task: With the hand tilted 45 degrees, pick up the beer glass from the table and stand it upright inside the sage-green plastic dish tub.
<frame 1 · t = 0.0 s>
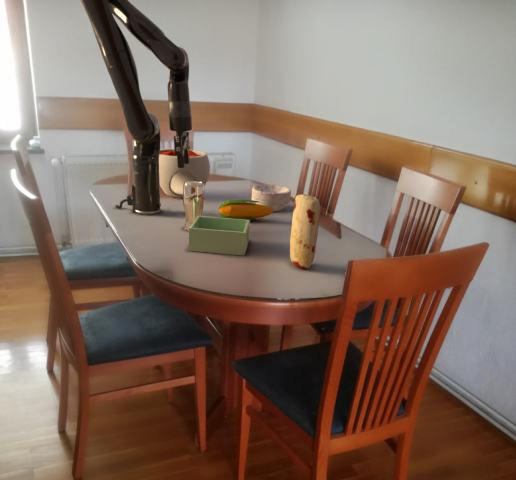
hand: (183, 165, 182), 17 cm above the table, tool pointing down, fingers open, 8 cm apart
tub: (219, 245, 161), on the table
beer glass: (193, 229, 175), on the table
corn: (245, 220, 189), on the table
paper bowls: (270, 209, 207), on the table
pot: (180, 196, 217), on the table
food model: (300, 266, 149), on the table
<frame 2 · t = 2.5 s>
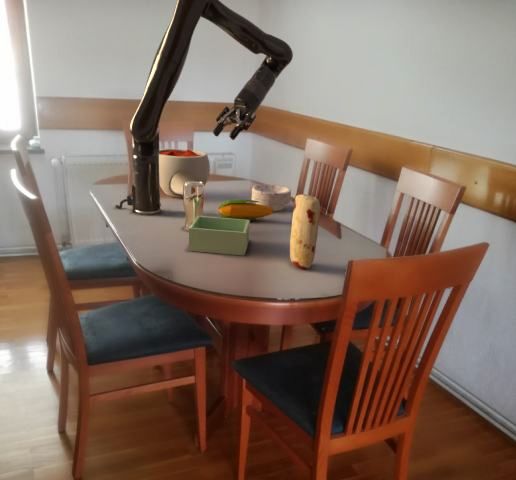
hand: (222, 136, 168), 29 cm above the table, tool tilted 45°, fingers open, 8 cm apart
nothing on the table moved.
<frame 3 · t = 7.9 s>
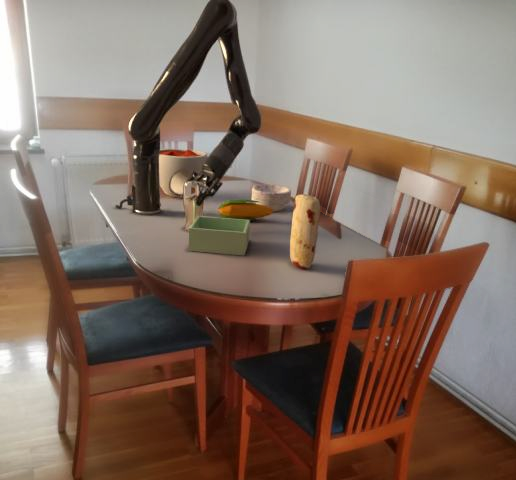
hand: (189, 201, 169), 9 cm above the table, tool tilted 45°, fingers closed on beer glass, 7 cm apart
beer glass: (193, 229, 175), on the table, touching gripper
everything else where it was.
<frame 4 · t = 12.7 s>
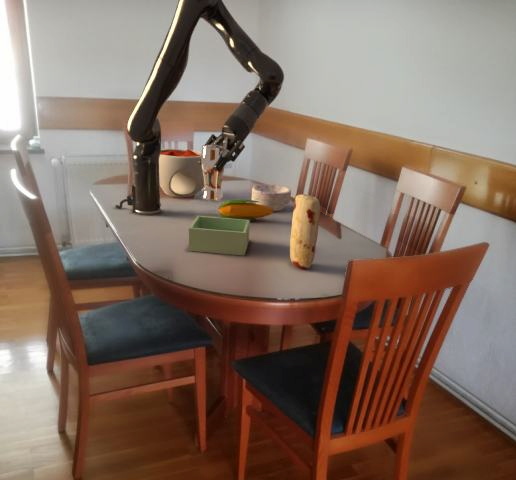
hand: (208, 167, 154), 22 cm above the table, tool tilted 45°, fingers closed on beer glass, 7 cm apart
beer glass: (212, 199, 160), point 13 cm above the table, touching gripper
everything else where it was.
when the fingers open (10 cm above the table, at t = 17.6 s): beer glass stays where it is, resting on tub.
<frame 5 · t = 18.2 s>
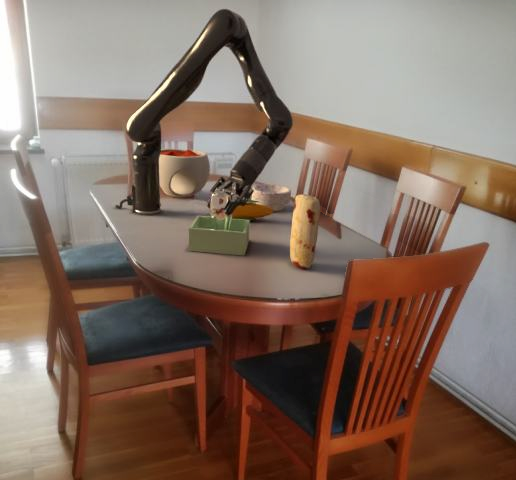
hand: (217, 210, 155), 11 cm above the table, tool tilted 45°, fingers open, 8 cm apart
beer glass: (220, 243, 161), point 1 cm above the table, touching tub
everything else where it was.
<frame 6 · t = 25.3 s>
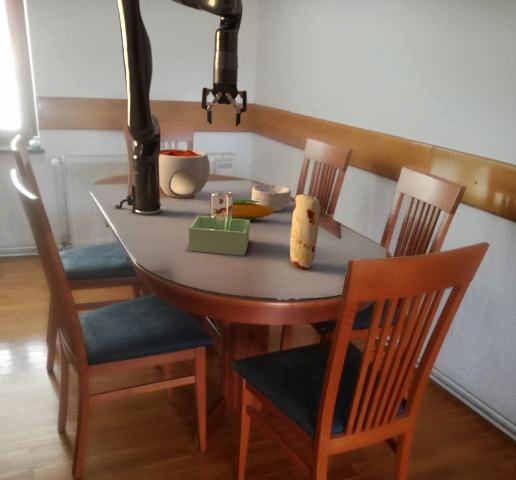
hand: (223, 125, 167), 32 cm above the table, tool pointing down, fingers open, 8 cm apart
nothing on the table moved.
at the end: beer glass inside the target area in the tub (0.2 cm from its centre), point 0.6 cm above the tub's base; beer glass tilted 0°; the gripper is holding nothing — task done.
